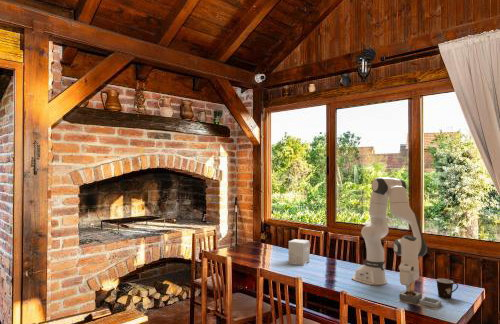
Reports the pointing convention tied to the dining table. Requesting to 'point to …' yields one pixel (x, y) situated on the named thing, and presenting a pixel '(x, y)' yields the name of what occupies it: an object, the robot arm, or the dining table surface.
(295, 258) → the supplement box
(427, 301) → the tray
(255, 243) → the dining table surface
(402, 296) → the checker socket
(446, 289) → the coffee mug
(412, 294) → the cell
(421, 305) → the bench board
